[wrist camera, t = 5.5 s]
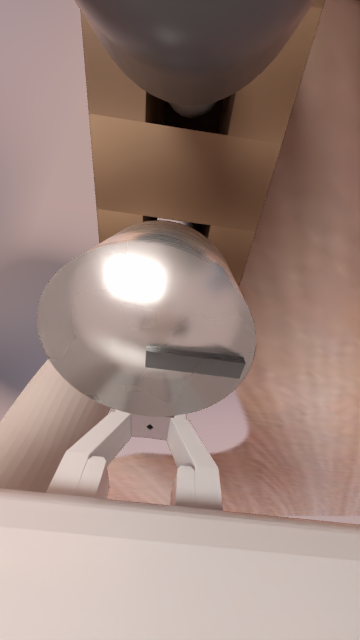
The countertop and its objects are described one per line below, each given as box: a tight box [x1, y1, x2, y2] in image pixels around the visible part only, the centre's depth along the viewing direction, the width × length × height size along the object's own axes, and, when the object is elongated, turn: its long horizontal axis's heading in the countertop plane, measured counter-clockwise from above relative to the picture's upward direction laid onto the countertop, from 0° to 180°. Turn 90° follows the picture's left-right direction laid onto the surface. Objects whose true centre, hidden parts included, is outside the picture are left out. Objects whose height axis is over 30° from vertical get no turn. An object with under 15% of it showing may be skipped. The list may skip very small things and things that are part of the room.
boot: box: [0, 359, 110, 493], centre depth 14 cm, size 7×14×20 cm, turn 147°
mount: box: [80, 0, 325, 287], centre depth 12 cm, size 19×7×5 cm, turn 172°
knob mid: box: [37, 220, 256, 417], centre depth 7 cm, size 4×4×8 cm
